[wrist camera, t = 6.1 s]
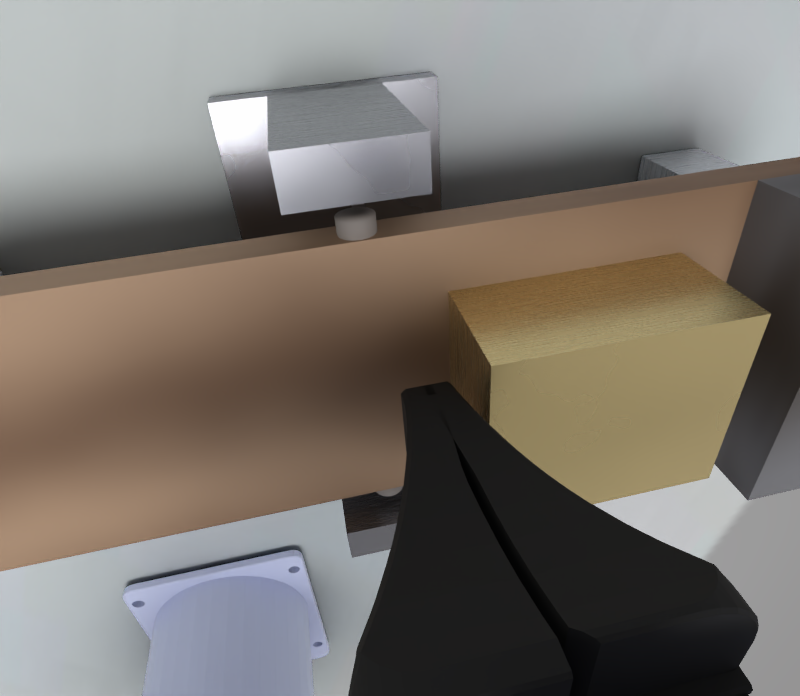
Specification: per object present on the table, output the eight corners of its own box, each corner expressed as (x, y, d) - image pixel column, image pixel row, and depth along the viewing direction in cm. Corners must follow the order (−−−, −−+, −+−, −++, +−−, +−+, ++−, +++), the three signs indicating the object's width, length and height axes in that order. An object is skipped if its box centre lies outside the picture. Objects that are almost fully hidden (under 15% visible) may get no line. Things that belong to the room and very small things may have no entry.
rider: (643, 403, 17) (708, 478, 14) (451, 442, 16) (486, 527, 13) (681, 252, 14) (770, 313, 11) (448, 291, 13) (491, 366, 10)
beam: (727, 401, 19) (822, 491, 16) (-20, 557, 16) (-91, 706, 13) (822, 138, 14) (993, 191, 11) (-251, 293, 11) (-467, 432, 8)
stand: (645, 367, 24) (743, 470, 19) (55, 480, 21) (-9, 637, 16) (723, 37, 16) (916, 68, 12) (-166, 140, 13) (-407, 238, 9)
